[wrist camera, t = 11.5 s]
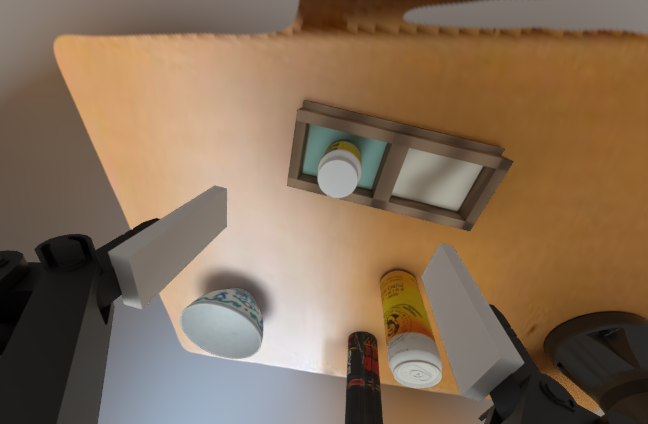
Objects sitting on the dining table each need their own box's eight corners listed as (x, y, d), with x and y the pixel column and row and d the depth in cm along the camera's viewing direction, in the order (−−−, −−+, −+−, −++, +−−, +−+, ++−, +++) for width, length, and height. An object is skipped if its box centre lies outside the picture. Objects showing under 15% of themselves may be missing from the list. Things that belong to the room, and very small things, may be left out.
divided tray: (499, 146, 28) (518, 154, 25) (455, 222, 33) (466, 236, 30) (305, 100, 28) (298, 101, 25) (293, 181, 34) (286, 191, 30)
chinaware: (249, 263, 42) (228, 295, 36) (288, 316, 48) (276, 353, 41) (191, 281, 47) (162, 313, 40) (232, 328, 52) (213, 363, 46)
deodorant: (375, 350, 49) (381, 445, 36) (347, 347, 50) (344, 438, 37) (378, 333, 46) (386, 428, 33) (349, 330, 47) (345, 422, 34)
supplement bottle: (338, 131, 28) (330, 144, 21) (369, 152, 29) (372, 173, 21) (317, 162, 30) (304, 185, 23) (347, 182, 31) (343, 210, 24)
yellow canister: (393, 262, 38) (412, 353, 25) (423, 278, 39) (457, 375, 25) (372, 284, 41) (379, 376, 27) (401, 299, 41) (421, 395, 28)
